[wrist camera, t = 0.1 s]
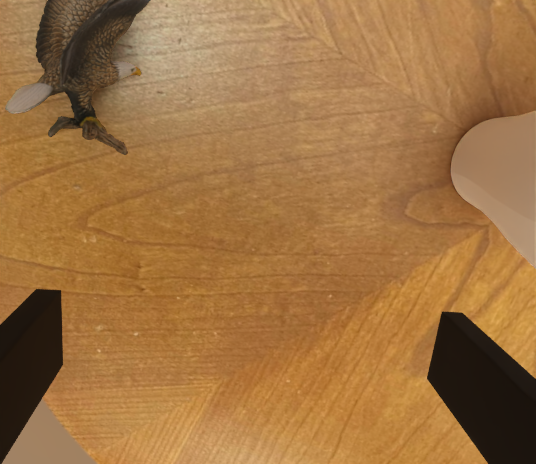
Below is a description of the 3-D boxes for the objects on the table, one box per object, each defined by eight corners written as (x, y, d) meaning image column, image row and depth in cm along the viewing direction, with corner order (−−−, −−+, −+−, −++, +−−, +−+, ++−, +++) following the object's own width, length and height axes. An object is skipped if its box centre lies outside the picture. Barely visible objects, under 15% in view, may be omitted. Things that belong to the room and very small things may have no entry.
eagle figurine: (176, 146, 27) (198, -20, 23) (77, 166, 21) (84, -52, 18) (88, 110, 30) (95, -43, 26) (-21, 119, 24) (-33, -78, 20)
